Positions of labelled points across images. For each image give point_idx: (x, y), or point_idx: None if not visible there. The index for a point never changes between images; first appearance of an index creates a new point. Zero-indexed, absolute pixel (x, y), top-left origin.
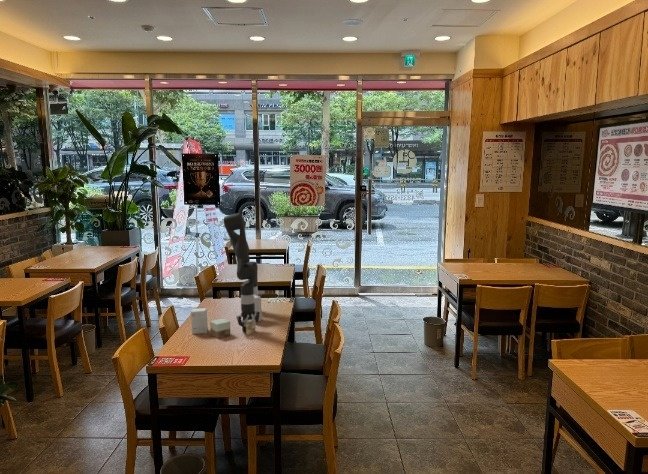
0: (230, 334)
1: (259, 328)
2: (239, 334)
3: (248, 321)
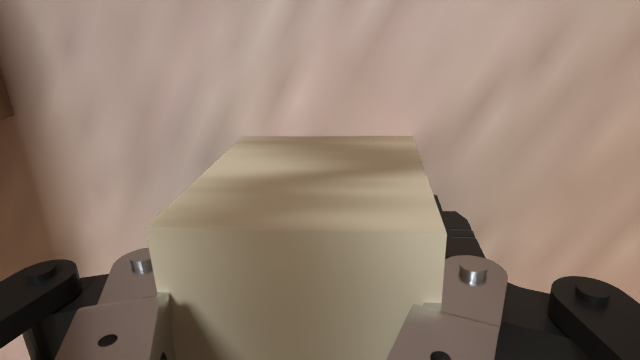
0: (2, 117)
1: (614, 155)
2: (152, 189)
3: (324, 307)
